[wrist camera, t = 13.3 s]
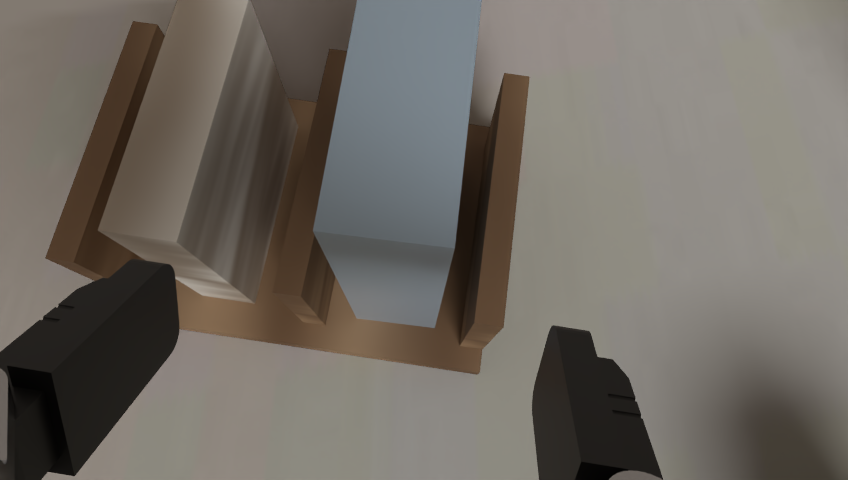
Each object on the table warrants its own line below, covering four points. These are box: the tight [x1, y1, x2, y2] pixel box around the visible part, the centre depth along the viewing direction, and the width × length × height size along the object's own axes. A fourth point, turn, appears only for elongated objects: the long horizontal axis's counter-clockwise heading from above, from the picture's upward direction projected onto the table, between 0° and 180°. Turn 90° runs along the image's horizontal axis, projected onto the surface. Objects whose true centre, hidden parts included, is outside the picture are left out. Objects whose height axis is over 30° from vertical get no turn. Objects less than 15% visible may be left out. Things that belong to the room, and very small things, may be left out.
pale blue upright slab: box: [313, 0, 482, 328], centre depth 21 cm, size 4×8×12 cm, turn 173°
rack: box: [46, 0, 529, 374], centre depth 23 cm, size 16×12×10 cm
